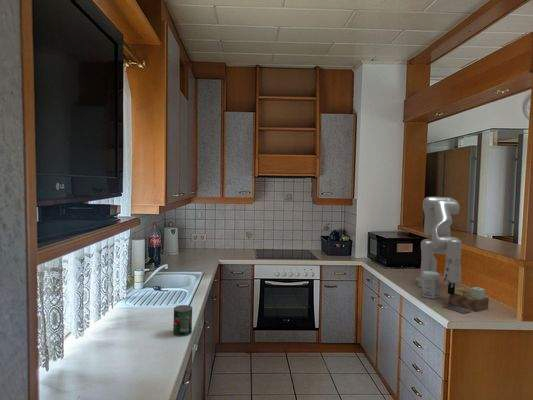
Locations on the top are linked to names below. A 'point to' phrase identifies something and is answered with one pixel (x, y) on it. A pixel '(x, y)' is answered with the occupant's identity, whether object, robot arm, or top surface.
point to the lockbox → (469, 302)
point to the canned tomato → (182, 320)
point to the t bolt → (460, 291)
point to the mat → (457, 309)
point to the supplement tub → (430, 284)
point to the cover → (477, 293)
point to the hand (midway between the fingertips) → (450, 293)
